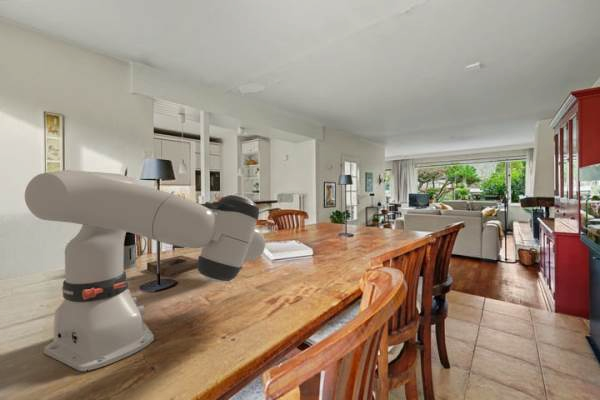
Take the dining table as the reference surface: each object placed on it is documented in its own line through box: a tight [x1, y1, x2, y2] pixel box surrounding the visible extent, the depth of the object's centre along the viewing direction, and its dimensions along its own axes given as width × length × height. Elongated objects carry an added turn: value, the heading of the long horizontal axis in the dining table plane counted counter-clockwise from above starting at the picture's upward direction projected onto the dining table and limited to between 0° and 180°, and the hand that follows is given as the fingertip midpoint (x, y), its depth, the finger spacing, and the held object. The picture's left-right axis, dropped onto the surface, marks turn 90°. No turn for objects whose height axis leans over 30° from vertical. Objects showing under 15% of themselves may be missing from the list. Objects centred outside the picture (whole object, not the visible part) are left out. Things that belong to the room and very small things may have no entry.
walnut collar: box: [146, 254, 198, 277], centre depth 118 cm, size 16×16×3 cm
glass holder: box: [124, 232, 147, 270], centre depth 120 cm, size 9×14×15 cm, turn 84°
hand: (178, 230), depth 117 cm, fingers closed on cork, 4 cm apart
